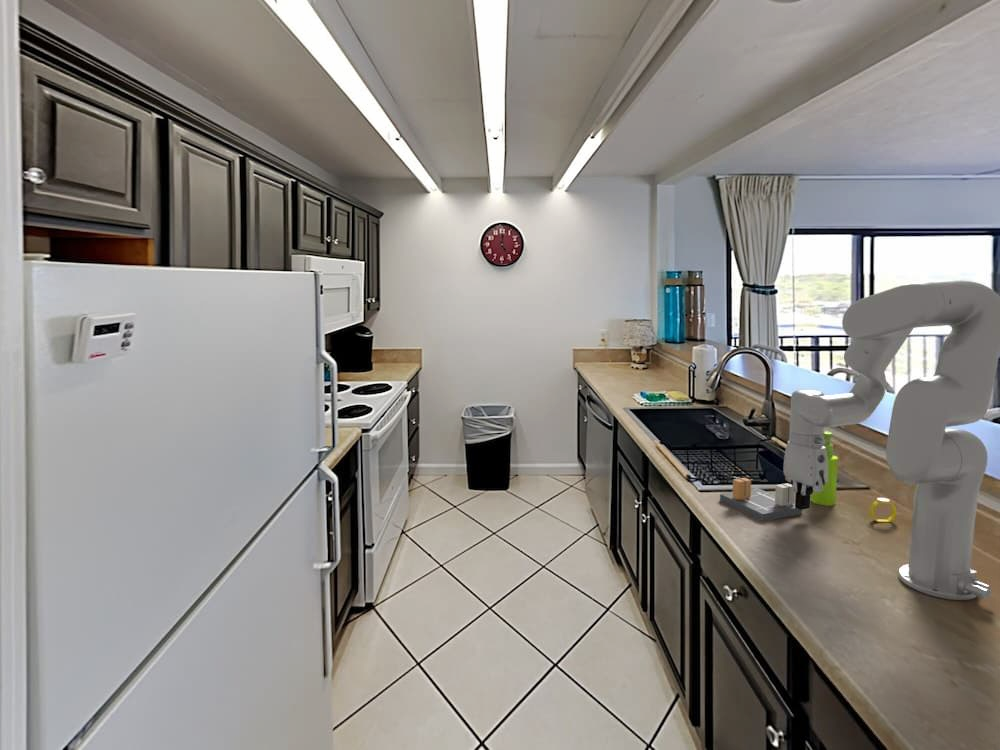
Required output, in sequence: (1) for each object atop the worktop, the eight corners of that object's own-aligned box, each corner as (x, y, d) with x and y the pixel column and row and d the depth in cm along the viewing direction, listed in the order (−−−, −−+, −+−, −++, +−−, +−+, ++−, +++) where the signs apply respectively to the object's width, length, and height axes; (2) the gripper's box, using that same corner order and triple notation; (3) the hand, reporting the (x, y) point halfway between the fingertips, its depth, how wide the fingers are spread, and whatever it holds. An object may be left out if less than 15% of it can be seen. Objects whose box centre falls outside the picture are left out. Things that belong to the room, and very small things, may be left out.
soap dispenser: (827, 496, 159) (831, 428, 156) (839, 505, 152) (843, 434, 149) (805, 496, 160) (809, 428, 157) (816, 505, 153) (820, 434, 150)
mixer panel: (802, 514, 147) (802, 506, 147) (762, 521, 143) (762, 513, 143) (756, 494, 162) (757, 487, 162) (720, 500, 158) (720, 493, 158)
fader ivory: (794, 504, 148) (794, 485, 148) (782, 506, 147) (783, 487, 146) (786, 500, 151) (787, 482, 150) (774, 503, 149) (775, 484, 149)
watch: (873, 524, 140) (873, 502, 139) (867, 520, 143) (867, 498, 142) (898, 523, 140) (898, 500, 139) (891, 518, 142) (891, 496, 142)
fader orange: (750, 497, 154) (751, 479, 153) (738, 499, 152) (739, 481, 152) (744, 494, 156) (744, 477, 155) (732, 496, 155) (732, 479, 154)
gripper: (843, 444, 135) (839, 516, 137) (793, 430, 149) (790, 496, 152) (819, 448, 133) (815, 521, 135) (771, 433, 147) (768, 500, 149)
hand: (802, 508), depth 143 cm, fingers closed
